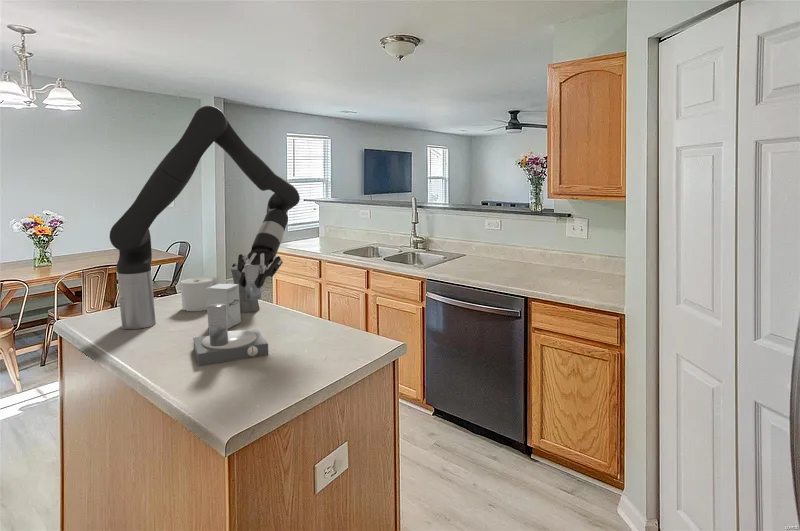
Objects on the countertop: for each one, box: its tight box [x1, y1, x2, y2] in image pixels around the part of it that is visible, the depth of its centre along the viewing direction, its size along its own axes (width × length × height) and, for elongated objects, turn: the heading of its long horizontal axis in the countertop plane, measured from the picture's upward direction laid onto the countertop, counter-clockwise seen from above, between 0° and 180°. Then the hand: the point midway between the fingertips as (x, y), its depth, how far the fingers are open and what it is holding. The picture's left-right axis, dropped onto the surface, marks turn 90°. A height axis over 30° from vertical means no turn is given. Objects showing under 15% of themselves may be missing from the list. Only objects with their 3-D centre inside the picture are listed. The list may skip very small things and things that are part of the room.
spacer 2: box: [244, 263, 262, 301], centre depth 143 cm, size 4×4×10 cm
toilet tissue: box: [180, 276, 221, 312], centre depth 175 cm, size 11×12×10 cm
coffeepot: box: [230, 263, 261, 314], centre depth 172 cm, size 15×9×18 cm, turn 44°
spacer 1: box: [207, 304, 229, 346], centre depth 125 cm, size 4×4×10 cm
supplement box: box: [206, 283, 242, 330], centre depth 153 cm, size 7×7×13 cm
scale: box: [192, 328, 269, 366], centre depth 130 cm, size 17×14×4 cm
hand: (249, 285), depth 141 cm, fingers closed on spacer 2, 4 cm apart
